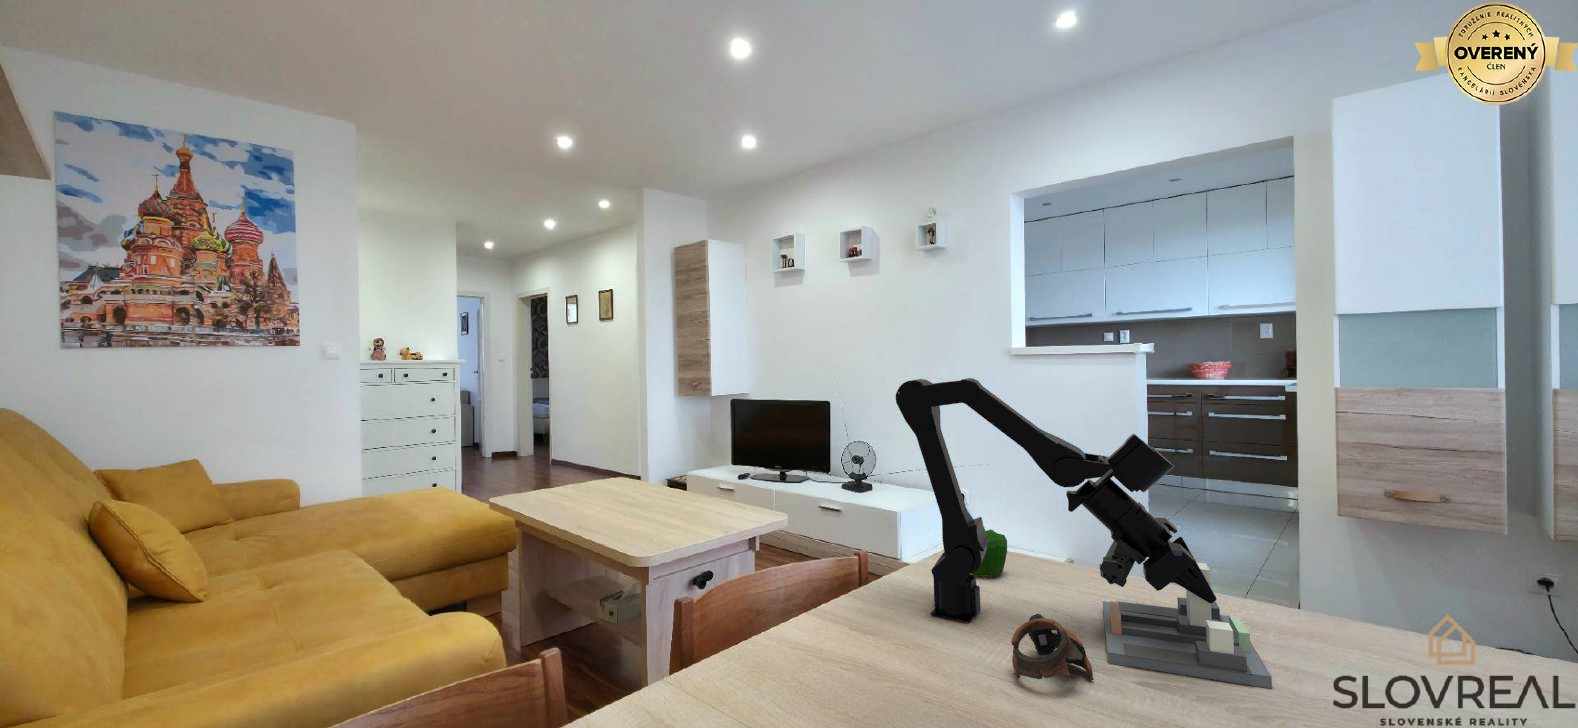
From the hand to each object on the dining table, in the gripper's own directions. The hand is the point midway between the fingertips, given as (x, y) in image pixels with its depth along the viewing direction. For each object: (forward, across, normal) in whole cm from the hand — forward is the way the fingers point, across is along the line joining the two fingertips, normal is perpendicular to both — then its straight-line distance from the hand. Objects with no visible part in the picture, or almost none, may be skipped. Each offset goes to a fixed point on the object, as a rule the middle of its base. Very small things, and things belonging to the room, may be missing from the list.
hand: (1211, 596), depth 87 cm
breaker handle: (+3, 0, -5) cm, 6 cm away
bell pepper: (-18, -21, -29) cm, 40 cm away
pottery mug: (-9, +15, -20) cm, 27 cm away
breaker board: (+2, 0, -8) cm, 9 cm away
